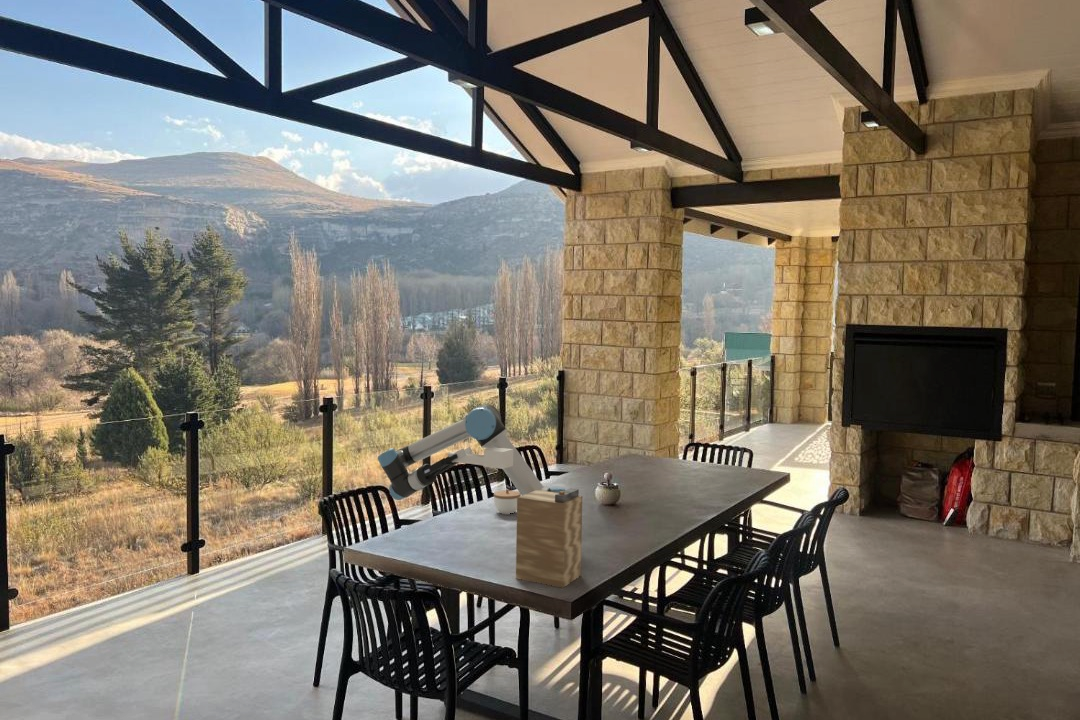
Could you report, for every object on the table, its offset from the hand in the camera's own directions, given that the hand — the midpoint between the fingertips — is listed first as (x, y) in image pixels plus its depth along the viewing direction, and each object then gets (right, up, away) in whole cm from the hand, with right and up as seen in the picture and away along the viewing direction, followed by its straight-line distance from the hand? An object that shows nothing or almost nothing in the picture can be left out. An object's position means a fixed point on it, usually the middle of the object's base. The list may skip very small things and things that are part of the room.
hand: (467, 451), depth 266 cm
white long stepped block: (+4, -4, -2) cm, 6 cm away
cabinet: (+29, -42, -15) cm, 53 cm away
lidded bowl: (+11, -38, +75) cm, 85 cm away
